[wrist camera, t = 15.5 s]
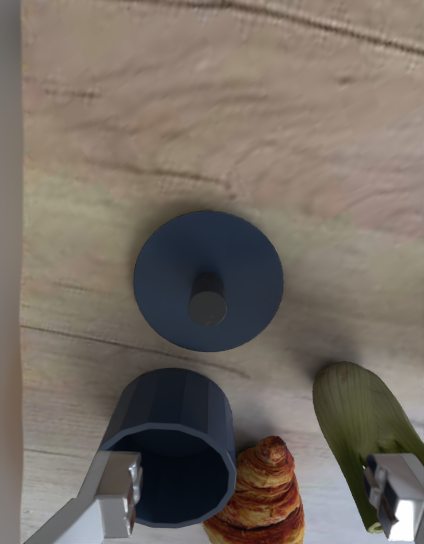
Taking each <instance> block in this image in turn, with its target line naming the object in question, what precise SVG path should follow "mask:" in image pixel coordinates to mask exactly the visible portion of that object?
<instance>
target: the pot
mask: <svg viewBox="0 0 424 544" xmlns="http://www.w3.org/2000/svg"><path fill="white" fill-rule="evenodd" d="M98 451H128V452H141V457H142V460H141V464H140V466H141V467H142V468H143V484H142V491H141V496H140V500H139V501H138V503H137V504H136V505H135V508H136V517H135V523H139V524H142V525H145V526H148V527H152V528H181V527H185V526H190V525H194V524H198V523H202V522H204V521H205V520H207V519H209V518H210V517H212V516H213V515H215V514H217V513H218V512H220V511H221V510H223V508H224V507H225V505H226V504H227V503H228V501H229V500H230V498H231V497H232V495H233V494H234V492H235V484H236V473H237V470H236V457H235V445H234V432H233V419H232V411H231V409H230V405H229V402H228V400H227V398H226V396H225V394H224V393H223V391H222V390H221V389H220V388H219V387H218V386H217V385H216V384H215V383H214V382H213V381H211V380H210V379H208V378H207V377H205V376H203V375H201V374H199V373H196V372H193V371H190V370H185V369H177V368H166V369H158V370H154V371H151V372H148V373H146V374H143V375H142V376H140V377H138V378H136V379H135V380H134V381H132V382H131V383H130V384H129V385H128V386H127V387H126V389H125V390H124V391H123V393H122V395H121V397H120V399H119V401H118V404H117V406H116V408H115V410H114V413H113V415H112V417H111V420H110V422H109V424H108V427H107V429H106V431H105V434H104V436H103V438H102V441H101V443H100V445H99V448H98V450H97V452H98ZM97 452H96V453H97Z"/></svg>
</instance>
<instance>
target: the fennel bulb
mask: <svg viewBox="0 0 424 544" xmlns="http://www.w3.org/2000/svg"><path fill="white" fill-rule="evenodd" d="M312 392H313V404H314V410H315V413H316V416H317V419H318V422H319V426H320V428H321V431H322V433H323V435H324V437H325V439H326V441H327V443H328V445H329V447H330V449H331V451H332V452H333V454H334V456H335V458H336V460H337V462H338V464H339V466H340V468H341V471H342V473H343V475H344V477H345V479H346V481H347V483H348V486H349V488H350V491H351V493H352V496H353V498H354V500H355V503H356V505H357V508H358V511H359V513H360V516H361V518H362V521H363V524H364V526H365V529H366V531H367V532H369V533H372V534H373V533H383V532H384V531H383V529H382V527H381V525H380V523H379V521H378V519H377V510H378V509H376V508H375V507H374V506H373V505H372V504H371V503H370V502H369V500H368V498H367V496H366V494H365V491H364V488H363V481H362V475H363V470H364V468H363V466H364V467H365V468H366V467H368V465H367V463H366V461H365V460H366V456H367V455H368V454H369V453H396V454H397V453H412V454H413V455H415V456H416V457H417V458H418V460H419V461H420V462H421V464H422V465H423V466H424V443H423V442H422V440H421V439H420V437H419V436H418V434H417V433H416V431H415V430H414V428H413V426H412V425H411V423H410V421H409V419H408V417H407V416H406V414H405V412H404V410H403V409H402V407H401V405H400V403H399V402H398V401H397V399H396V398H395V396H394V395H393V394H392V392H391V391H390V390H389V388H388V387H387V386H386V385H385V383H384V382H383V381H382V380H381V379H380V378H379V377H378V376H377V375H376V374H374V373H373V372H371V371H369V370H367V369H365V368H363V367H361V366H359V365H357V364H355V363H351V362H340V363H335V364H333V365H330V366H327V367H326V368H324V369H323V370H321V371H320V373H319V374H318V375H317V376H316V378H315V381H314V384H313V391H312Z"/></svg>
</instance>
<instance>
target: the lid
mask: <svg viewBox="0 0 424 544" xmlns="http://www.w3.org/2000/svg"><path fill="white" fill-rule="evenodd" d="M283 284H284V280H283V270H282V266H281V262H280V259H279V257H278V254H277V252H276V250H275V249H274V247H273V245H272V244H271V242H270V241H269V240H268V238H267V237H266V236H265V235H264V234H263V233H262V232H261V231H260V230H259V229H258V228H256V227H255V226H254V225H252V224H251V223H249V222H248V221H246V220H244V219H242V218H240V217H237V216H235V215H232V214H229V213H225V212H219V211H198V212H191V213H188V214H184V215H181V216H179V217H177V218H174V219H172V220H170V221H169V222H167V223H166V224H164V225H163V226H161V227H160V228H159V229H158V230H157V231H155V232H154V233H153V235H152V236H151V237H150V238H149V239H148V240H147V242H146V243H145V245H144V246H143V248H142V250H141V252H140V254H139V256H138V259H137V262H136V265H135V270H134V282H133V285H134V293H135V297H136V301H137V304H138V306H139V309H140V311H141V313H142V315H143V316H144V318H145V320H146V321H147V322H148V324H149V325H150V326H151V327H152V328H153V329H154V330H155V331H156V332H157V333H158V334H159V335H161V336H162V337H163V338H165V339H166V340H168V341H169V342H171V343H173V344H175V345H177V346H179V347H182V348H185V349H189V350H193V351H199V352H218V351H225V350H229V349H233V348H235V347H238V346H241V345H243V344H245V343H247V342H249V341H250V340H252V339H253V338H255V337H256V336H257V335H258V334H260V333H261V332H262V331H263V330H264V329H265V328H266V327H267V325H268V324H269V323H270V322H271V320H272V319H273V317H274V316H275V314H276V312H277V310H278V308H279V305H280V302H281V298H282V293H283Z"/></svg>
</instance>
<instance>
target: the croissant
mask: <svg viewBox="0 0 424 544" xmlns="http://www.w3.org/2000/svg"><path fill="white" fill-rule="evenodd" d="M294 468H295V465H294V458H293V456H292V455H291V453H290V452H289V450H288V448H287V446H286V443H285V442H284V441H283V440H282V439H281V438H280V437H279V436H271V437H266V438H264V439H262V440H261V441H260V442H259V443H257V444H256V446H255V447H252V448H248V449H246V450H245V451H243V452H241V453H240V454H239V455H238V457H237V458H236V470H237V473H236V484H235V492H234V494H233V495H232V497H231V498H230V500H229V501H228V503H227V504H226V505H225V507H224V508H223V510H221V511H220V512H218V513H217V514H215V515H213V516H212V517H210V518H209V519H207V520H205V521H204V522H202V524H203V527H204V530H205V532H206V533H207V535H208V537H209V540H210V541H211V542H212V544H303V539H304V535H305V515H304V511H303V504H302V500H301V497H300V494H299V488H298V484H297V480H296V476H295V473H294Z"/></svg>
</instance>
